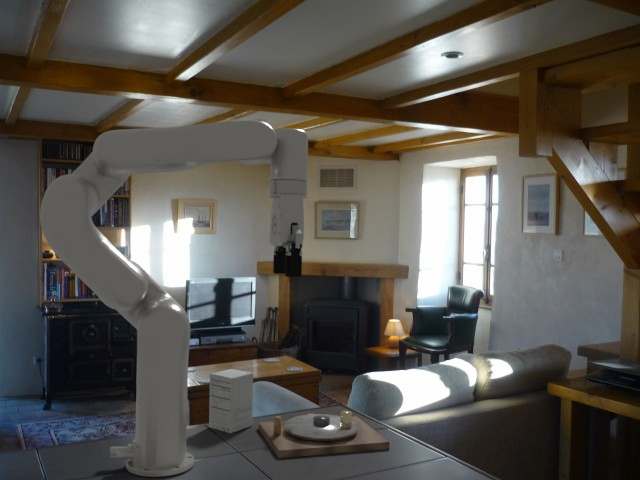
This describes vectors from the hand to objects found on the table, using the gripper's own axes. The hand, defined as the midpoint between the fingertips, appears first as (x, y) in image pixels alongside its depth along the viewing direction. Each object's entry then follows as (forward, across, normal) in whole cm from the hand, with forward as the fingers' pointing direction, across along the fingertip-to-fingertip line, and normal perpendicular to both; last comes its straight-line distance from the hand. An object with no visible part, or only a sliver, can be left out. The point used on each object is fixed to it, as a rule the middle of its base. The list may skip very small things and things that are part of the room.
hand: (286, 275), depth 129 cm
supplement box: (+37, -22, -7) cm, 44 cm away
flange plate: (+35, -9, +11) cm, 38 cm away
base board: (+37, -9, +11) cm, 39 cm away
